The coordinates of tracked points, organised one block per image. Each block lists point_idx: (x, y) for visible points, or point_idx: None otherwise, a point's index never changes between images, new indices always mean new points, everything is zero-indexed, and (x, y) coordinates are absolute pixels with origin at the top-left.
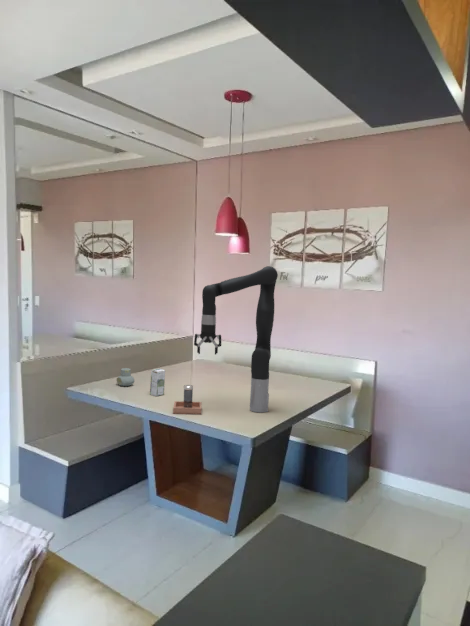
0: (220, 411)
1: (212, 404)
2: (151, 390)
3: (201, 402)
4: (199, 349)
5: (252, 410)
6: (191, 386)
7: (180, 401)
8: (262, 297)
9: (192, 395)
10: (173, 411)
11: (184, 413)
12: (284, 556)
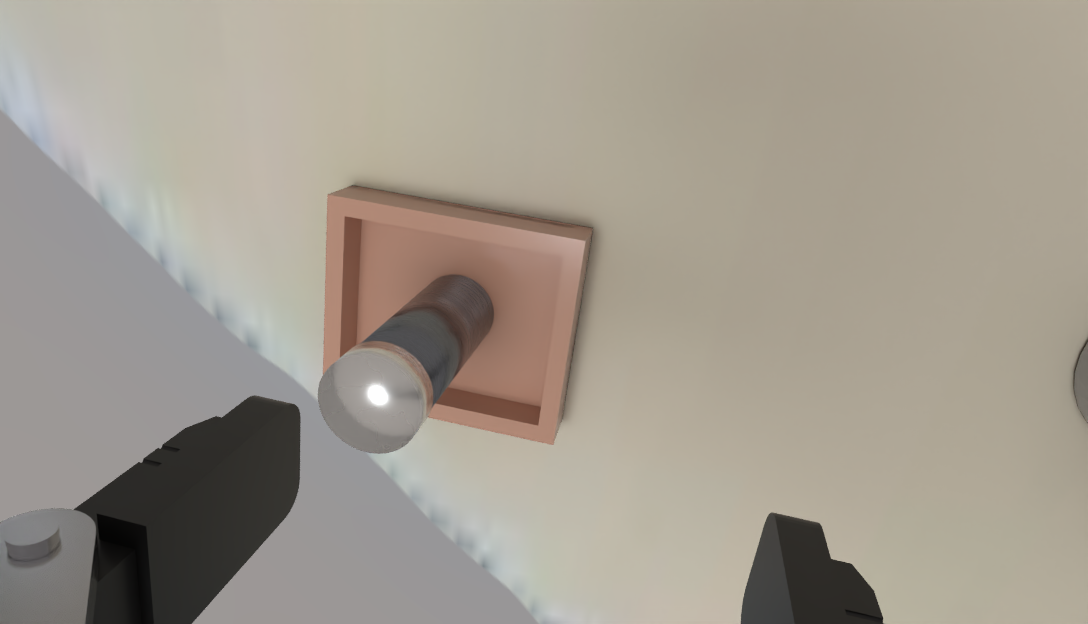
0: (750, 362)
1: (731, 127)
2: None
3: (582, 260)
4: (197, 593)
5: (1083, 413)
6: (402, 429)
7: (381, 207)
8: None
9: (454, 371)
10: None
11: None
12: None
